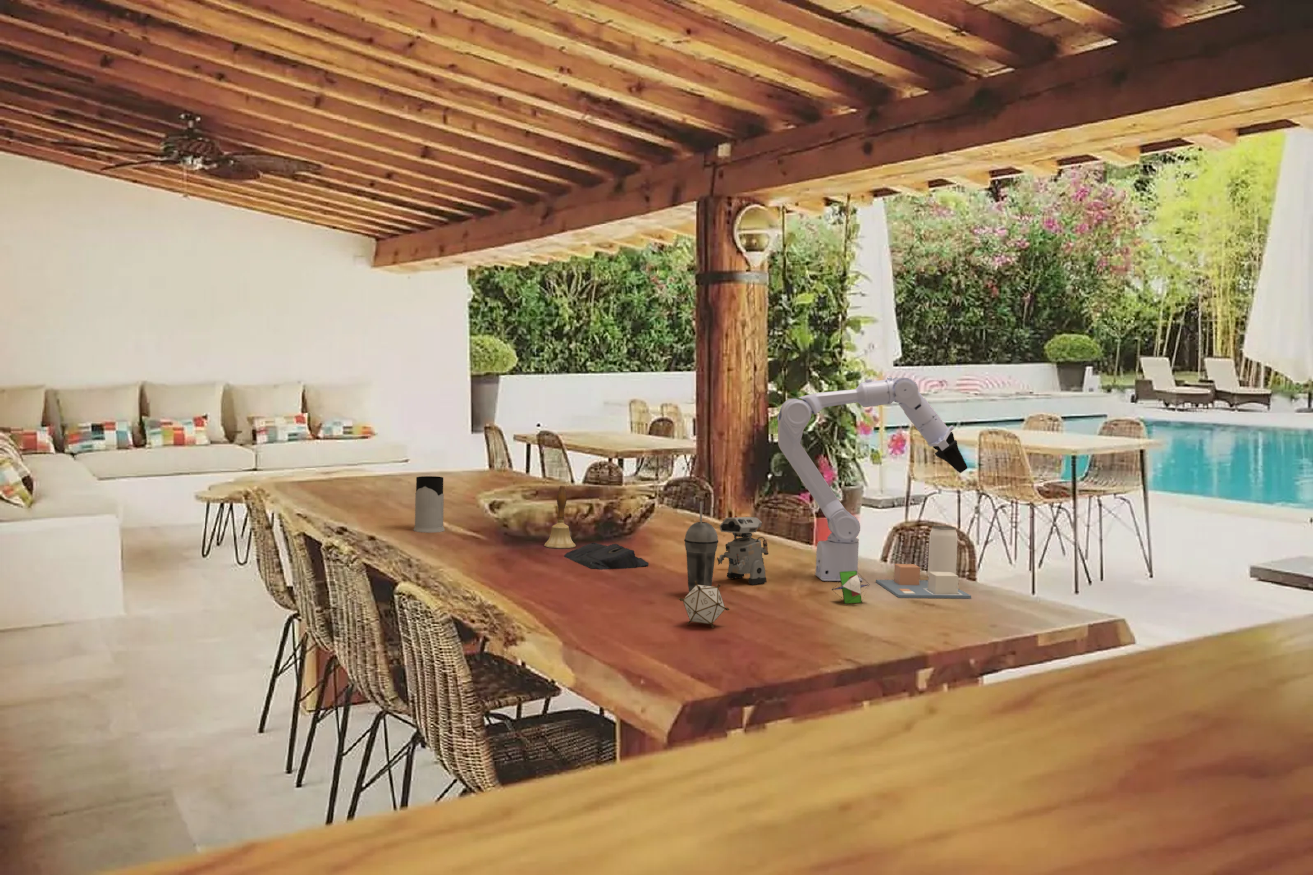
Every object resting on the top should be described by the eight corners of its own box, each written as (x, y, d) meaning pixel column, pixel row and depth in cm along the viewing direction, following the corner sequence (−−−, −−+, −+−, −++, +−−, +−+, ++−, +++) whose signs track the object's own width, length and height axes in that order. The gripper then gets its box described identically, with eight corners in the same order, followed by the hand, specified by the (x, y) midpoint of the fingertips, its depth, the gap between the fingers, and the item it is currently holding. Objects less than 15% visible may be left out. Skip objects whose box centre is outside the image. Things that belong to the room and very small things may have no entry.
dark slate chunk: (615, 554, 302) (615, 536, 301) (652, 569, 282) (653, 549, 282) (559, 557, 295) (559, 538, 294) (593, 572, 275) (594, 552, 275)
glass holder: (408, 531, 328) (409, 478, 327) (426, 525, 342) (427, 473, 341) (438, 533, 327) (439, 479, 326) (455, 526, 341) (456, 475, 340)
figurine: (707, 581, 265) (709, 515, 264) (745, 577, 272) (747, 512, 271) (732, 588, 258) (735, 520, 257) (772, 583, 265) (774, 517, 264)
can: (956, 580, 275) (958, 530, 274) (928, 579, 276) (930, 528, 275) (955, 576, 281) (957, 526, 280) (927, 574, 282) (929, 524, 282)
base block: (935, 594, 254) (936, 575, 254) (927, 589, 259) (928, 571, 259) (957, 594, 255) (958, 576, 255) (949, 589, 260) (950, 571, 260)
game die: (693, 643, 221) (675, 595, 226) (735, 627, 222) (717, 580, 226) (689, 629, 213) (671, 580, 218) (733, 613, 214) (714, 564, 218)
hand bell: (558, 542, 316) (559, 483, 315) (582, 546, 311) (583, 486, 310) (537, 546, 309) (539, 485, 308) (561, 549, 304) (563, 488, 303)
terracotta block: (899, 584, 264) (900, 567, 264) (894, 581, 269) (894, 563, 268) (919, 585, 265) (920, 567, 264) (913, 581, 269) (913, 564, 269)
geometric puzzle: (823, 588, 249) (836, 562, 245) (850, 586, 252) (864, 560, 247) (836, 613, 244) (850, 587, 240) (864, 611, 247) (878, 586, 242)
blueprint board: (898, 597, 252) (899, 594, 252) (875, 582, 270) (875, 579, 270) (971, 598, 254) (971, 595, 254) (943, 582, 272) (943, 579, 271)
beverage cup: (720, 593, 251) (723, 500, 250) (711, 599, 245) (714, 504, 243) (688, 590, 254) (691, 498, 253) (678, 596, 247) (680, 501, 246)
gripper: (943, 415, 263) (980, 463, 264) (938, 405, 277) (973, 450, 278) (917, 434, 265) (954, 481, 265) (914, 423, 279) (948, 468, 279)
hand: (962, 467), depth 272 cm, fingers open, 7 cm apart
